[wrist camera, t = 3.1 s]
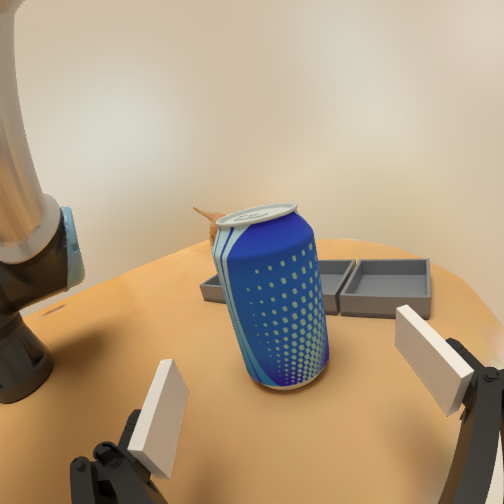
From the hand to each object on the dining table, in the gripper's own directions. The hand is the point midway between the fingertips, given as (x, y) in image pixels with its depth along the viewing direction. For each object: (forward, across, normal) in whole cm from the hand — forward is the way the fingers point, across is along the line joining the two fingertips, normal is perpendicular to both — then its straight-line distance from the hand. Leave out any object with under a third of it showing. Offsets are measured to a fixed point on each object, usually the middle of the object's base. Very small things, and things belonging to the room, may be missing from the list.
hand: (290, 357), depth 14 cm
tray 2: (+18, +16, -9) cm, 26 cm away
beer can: (+10, 0, -10) cm, 14 cm away
